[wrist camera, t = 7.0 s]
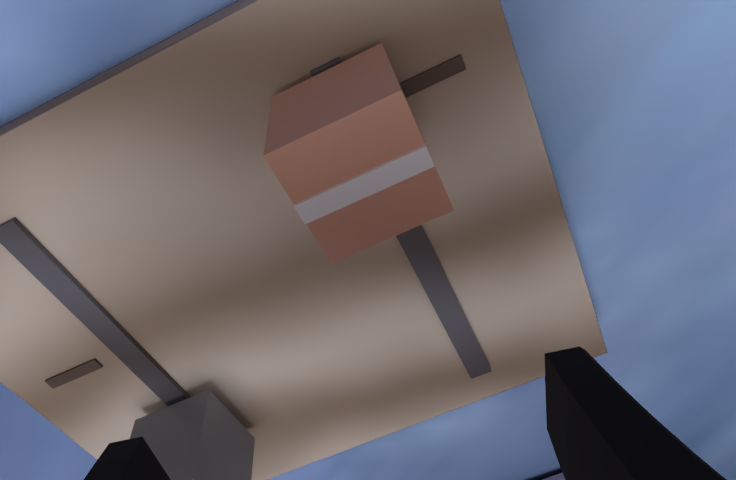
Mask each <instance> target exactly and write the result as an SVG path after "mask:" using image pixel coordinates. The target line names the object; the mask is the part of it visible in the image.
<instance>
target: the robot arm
mask: <svg viewBox="0 0 736 480" xmlns="http://www.w3.org/2000/svg"><path fill="white" fill-rule="evenodd" d="M545 384H546V413H547V430H548V433H549V436H550V439H551V442H552V444H553V447H554V450H555V453H556V456H557V459H558V461H559V464H560V467H561V470H562V473H559V474H557V475H554V476H551V477H548V478H545V479H542V480H726V479H725V478H724V477H722V476H721V475H720V474H719V473H717V472H716V471H715V470H714V469H713V468H711V467H710V466H709V465H708V464H707V463H706V462H704V461H703V460H702V459H701V458H700V457H698V456H697V455H696V454H695V453H694V452H693V451H691V450H690V449H689V448H688V447H687V446H686V445H685V444H683V443H682V442H681V441H680V440H679V439H678V438H677V437H676V436H674V435H673V434H672V433H671V432H670V431H669V430H668V429H666V428H665V427H664V426H663V425H662V424H661V423H660V422H659V421H657V420H656V419H655V418H654V417H653V416H652V415H651V414H650V413H649V412H648V411H647V410H646V409H644V408H643V407H642V406H641V405H640V404H639V403H638V402H637V401H636V400H635V399H634V398H633V397H632V396H631V395H630V394H629V393H628V392H627V391H626V390H625V389H623V388H622V387H621V386H620V385H619V384H618V383H617V382H616V381H615V380H614V379H613V378H612V377H611V376H610V375H609V374H608V373H607V372H606V371H605V370H604V369H603V368H602V367H601V366H600V365H599V364H598V363H597V361H596V360H595V359H594V358H593V357H592V356H591V355H590V354H589V353H588V352H587V351H586V350H585V349H583V348H581V347H580V346H579V347H574V348H569V349H564V350H559V351H555V352H550V353H545ZM84 480H171V479H170V478H169V476H168V475H167V473H166V472H165V470H164V469H163V467H162V466H161V464H160V463H159V461H158V460H157V458H156V457H155V455H154V453H153V452H152V450H151V449H150V447H149V446H148V444H147V443H146V441H145V440H144V438H143V437H137V438H132V439H127V440H123V441H118V442H113V443H109V444H108V446H107V447H106V449H105V450H104V451H103V453H102V454H101V456H100V457H99V458H98V460H97V461H96V463H95V464H94V466H93V467H92V469H91V470H90V472H89V473H88V474H87V476H86V477H85V479H84Z"/></svg>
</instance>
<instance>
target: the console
mask: <svg viewBox="0 0 736 480" xmlns="http://www.w3.org/2000/svg"><path fill="white" fill-rule="evenodd" d="M380 43H382V45H383V47H384V50H385V52H386V54H387V56H388V59H389V61H390V63H391V66H392V68H393V70H394V72H395V75H396V77H397V79H398V82H399V84H400V86H401V88H402V91H403V93H404V95H405V98H406V100H407V102H408V104H409V107H410V109H411V111H412V114H413V116H414V118H415V120H416V123H417V125H418V127H419V130H420V132H421V134H422V136H423V139H424V141H425V143H426V146H427V148H428V150H429V153H430V155H431V157H432V160H433V162H434V164H435V167H436V169H437V171H438V174H439V176H440V178H441V181H442V183H443V185H444V188H445V190H446V192H447V195H448V197H449V199H450V202H451V204H452V206H453V209H454V211H452V212H450V213H447V214H445V215H443V216H440V217H438V218H436V219H434V220H431V221H429V222H427V223H424V224H422V225H420V226H417V227H415V228H413V229H410V230H408V231H406V232H403V233H401V234H399V235H397V236H394V237H392V238H390V239H387V240H385V241H383V242H380V243H378V244H376V245H373V246H371V247H369V248H367V249H364V250H362V251H360V252H357V253H355V254H353V255H350V256H348V257H346V258H343V259H341V260H339V261H336V262H334V263H332V264H331V263H330V261H329V260H328V258H327V256H326V255H325V253H324V252H323V250H322V248H321V247H320V245H319V244H318V242H317V240H316V239H315V237H314V236H313V234H312V232H311V231H310V229H309V228H308V226H307V225H306V224H304V222H303V221H302V219H301V217H300V216H299V214H298V213H297V211H296V209H295V208H294V204H293V202H292V201H291V199H290V197H289V196H288V194H287V193H286V191H285V189H284V188H283V186H282V185H281V183H280V182H279V180H278V178H277V177H276V175H275V174H274V172H273V170H272V169H271V167H270V166H269V164H268V162H267V161H266V159H265V158H264V156H263V154H264V147H265V140H266V133H267V126H268V118H269V111H270V104H271V97H273V96H275V95H277V94H279V93H281V92H283V91H285V90H287V89H289V88H291V87H293V86H295V85H297V84H299V83H301V82H303V81H305V80H307V79H309V78H311V77H313V76H315V75H317V74H319V73H321V72H323V71H325V70H327V69H329V68H332V67H334V66H336V65H338V64H340V63H342V62H344V61H346V60H348V59H350V58H352V57H354V56H356V55H358V54H360V53H362V52H364V51H366V50H368V49H370V48H372V47H374V46H376V45H378V44H380ZM579 346H580V347H581V348H583V349H585V350H586V351H587V352H588V353H589V354H590V355H591V356H592V357H593V358H594V357H597V356H599V355H602V354H605V353H607V350H606V347H605V343H604V340H603V337H602V333H601V330H600V327H599V324H598V320H597V317H596V314H595V311H594V307H593V304H592V301H591V297H590V294H589V291H588V288H587V284H586V281H585V278H584V275H583V271H582V268H581V265H580V261H579V258H578V255H577V252H576V248H575V245H574V242H573V239H572V235H571V232H570V229H569V226H568V222H567V219H566V216H565V212H564V209H563V206H562V203H561V199H560V196H559V193H558V190H557V186H556V183H555V180H554V176H553V173H552V170H551V167H550V163H549V160H548V157H547V154H546V150H545V147H544V144H543V140H542V137H541V134H540V131H539V127H538V124H537V121H536V118H535V114H534V111H533V108H532V105H531V101H530V98H529V95H528V91H527V88H526V85H525V82H524V78H523V75H522V72H521V69H520V65H519V62H518V59H517V55H516V52H515V49H514V46H513V42H512V39H511V36H510V33H509V29H508V26H507V23H506V19H505V16H504V13H503V10H502V6H501V3H500V0H239V1H237V2H235V3H234V4H232V5H230V6H228V7H226V8H224V9H222V10H220V11H218V12H217V13H215V14H213V15H211V16H209V17H207V18H205V19H203V20H201V21H200V22H198V23H196V24H194V25H192V26H190V27H188V28H186V29H184V30H183V31H181V32H179V33H177V34H175V35H173V36H171V37H169V38H168V39H166V40H164V41H162V42H160V43H158V44H156V45H154V46H152V47H151V48H149V49H147V50H145V51H143V52H141V53H139V54H137V55H135V56H134V57H132V58H130V59H128V60H126V61H124V62H122V63H120V64H118V65H117V66H115V67H113V68H111V69H109V70H107V71H105V72H103V73H101V74H100V75H98V76H96V77H94V78H92V79H90V80H88V81H86V82H84V83H83V84H81V85H79V86H77V87H75V88H73V89H71V90H69V91H67V92H66V93H64V94H62V95H60V96H58V97H56V98H54V99H52V100H50V101H49V102H47V103H45V104H43V105H41V106H39V107H37V108H35V109H33V110H32V111H30V112H28V113H26V114H24V115H22V116H20V117H18V118H16V119H15V120H13V121H11V122H9V123H7V124H5V125H3V126H1V127H0V382H1V383H3V384H4V385H5V386H6V387H8V388H9V389H10V390H11V391H13V392H14V393H15V394H16V395H18V396H19V397H20V398H21V399H23V400H24V401H25V402H26V403H28V404H29V405H30V406H31V407H33V408H34V409H35V410H36V411H38V412H39V413H40V414H41V415H43V416H44V417H45V418H46V419H48V420H49V421H50V422H51V423H53V424H54V425H55V426H56V427H58V428H59V429H60V430H61V431H62V432H64V433H65V434H66V435H67V436H69V437H70V438H71V439H72V440H74V441H75V442H76V443H77V444H79V445H80V446H81V447H82V448H84V449H85V450H86V451H87V452H89V453H90V454H91V455H92V456H94V457H95V458H96V459H97V460H98V458H99V457H100V456H101V454H102V453H103V451H104V450H105V449H106V447H107V446H108V444H109V443H113V442H118V441H123V440H127V439H130V436H131V432H132V429H133V426H134V422H135V420H136V419H139V418H141V417H144V416H146V415H149V414H151V413H153V412H156V411H158V410H161V409H163V408H166V407H168V406H171V405H173V404H175V403H178V402H180V401H183V400H185V399H188V398H190V397H193V396H195V395H197V394H200V393H202V392H205V391H207V390H210V391H211V392H212V393H213V394H214V395H215V396H216V397H217V399H218V400H219V401H220V402H221V403H222V404H223V405H224V406H225V407H226V408H227V409H228V410H229V411H230V412H231V413H232V415H233V416H234V417H235V418H236V419H237V420H238V421H239V422H240V423H241V424H242V425H243V426H244V427H245V428H246V429H247V431H248V432H249V433H250V434H251V435H252V436H253V437H254V438H255V443H254V455H253V467H252V478H251V480H267V479H270V478H272V477H275V476H278V475H280V474H283V473H286V472H288V471H291V470H294V469H297V468H299V467H302V466H305V465H307V464H310V463H313V462H315V461H318V460H321V459H323V458H326V457H329V456H331V455H334V454H337V453H339V452H342V451H345V450H347V449H350V448H353V447H355V446H358V445H361V444H363V443H366V442H369V441H372V440H374V439H377V438H380V437H382V436H385V435H388V434H390V433H393V432H396V431H398V430H401V429H404V428H406V427H409V426H412V425H414V424H417V423H420V422H422V421H425V420H428V419H430V418H433V417H436V416H439V415H441V414H444V413H447V412H449V411H452V410H455V409H457V408H460V407H463V406H465V405H468V404H471V403H473V402H476V401H479V400H481V399H484V398H487V397H489V396H492V395H495V394H497V393H500V392H503V391H506V390H508V389H511V388H514V387H516V386H519V385H522V384H524V383H527V382H530V381H532V380H535V379H538V378H540V377H543V376H545V353H550V352H555V351H559V350H564V349H569V348H574V347H579Z"/></svg>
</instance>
